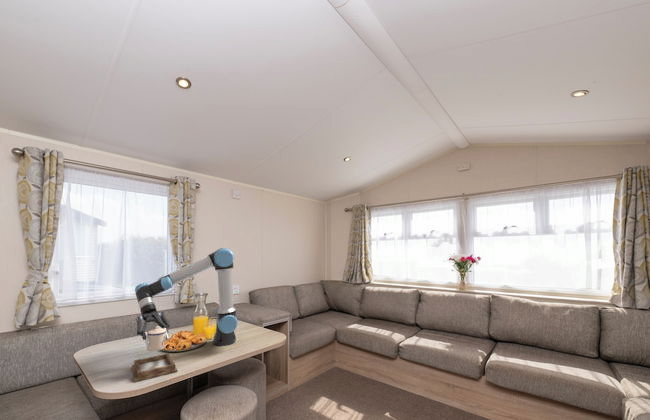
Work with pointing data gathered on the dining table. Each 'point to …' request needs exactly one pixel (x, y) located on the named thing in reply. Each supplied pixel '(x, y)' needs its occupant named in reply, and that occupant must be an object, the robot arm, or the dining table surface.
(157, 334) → the teacup with lid
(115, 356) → the dining table surface
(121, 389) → the dining table surface
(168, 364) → the wooden serving tray
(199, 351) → the dining table surface
